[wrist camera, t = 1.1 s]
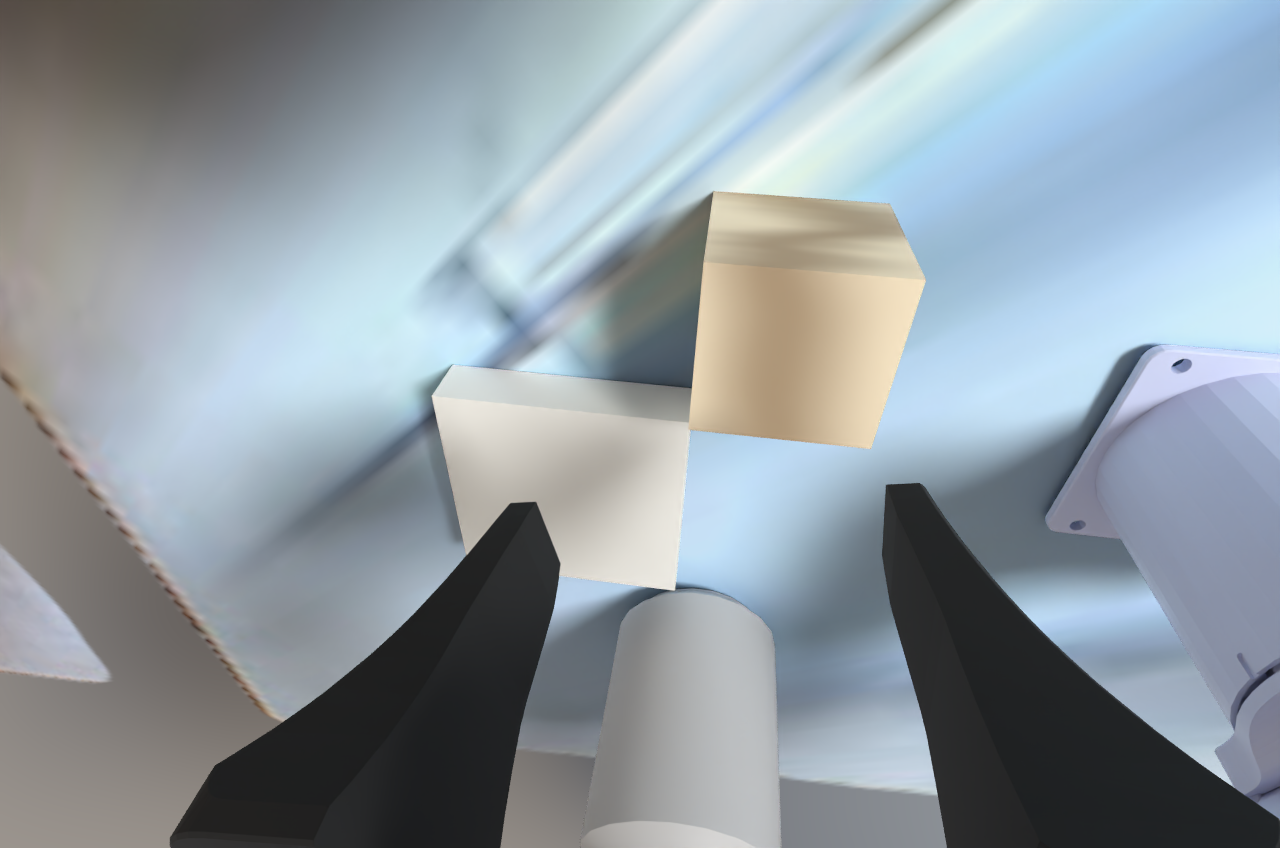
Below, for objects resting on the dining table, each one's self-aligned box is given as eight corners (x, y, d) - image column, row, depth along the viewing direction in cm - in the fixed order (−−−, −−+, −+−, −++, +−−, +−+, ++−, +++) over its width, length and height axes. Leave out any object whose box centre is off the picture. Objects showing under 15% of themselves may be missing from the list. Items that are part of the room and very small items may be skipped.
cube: (889, 202, 18) (926, 279, 14) (849, 352, 21) (870, 448, 18) (713, 190, 19) (703, 262, 15) (699, 338, 22) (688, 429, 18)
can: (656, 675, 35) (621, 950, 26) (596, 590, 31) (530, 878, 22) (792, 660, 32) (809, 960, 23) (746, 565, 29) (743, 880, 19)
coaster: (695, 388, 23) (690, 422, 22) (679, 554, 29) (674, 590, 27) (452, 364, 24) (431, 396, 22) (483, 529, 29) (468, 564, 28)
